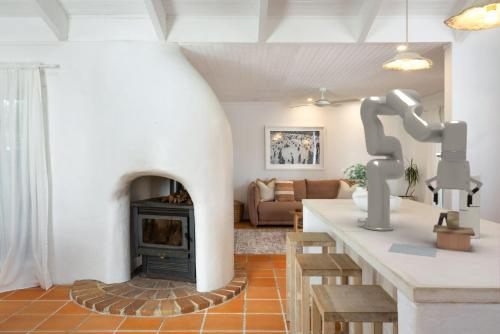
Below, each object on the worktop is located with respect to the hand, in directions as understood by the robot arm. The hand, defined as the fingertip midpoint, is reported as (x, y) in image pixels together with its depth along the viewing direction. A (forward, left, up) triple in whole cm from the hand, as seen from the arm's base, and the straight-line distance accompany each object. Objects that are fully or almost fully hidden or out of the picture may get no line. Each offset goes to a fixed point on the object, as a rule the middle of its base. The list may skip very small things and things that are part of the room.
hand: (452, 205), depth 123 cm
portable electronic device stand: (-1, +36, -15) cm, 39 cm away
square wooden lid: (0, 0, -9) cm, 9 cm away
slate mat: (-12, -11, -15) cm, 22 cm away
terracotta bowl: (0, 0, -15) cm, 15 cm away
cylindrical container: (+6, +26, -15) cm, 30 cm away
